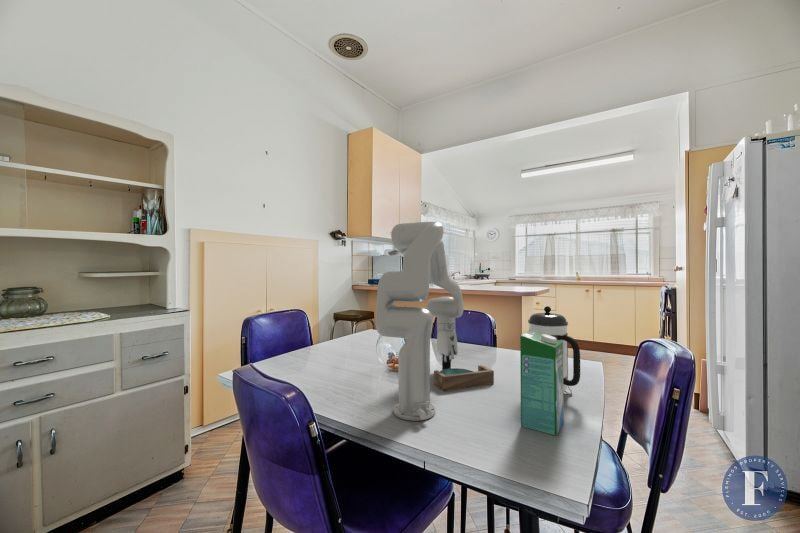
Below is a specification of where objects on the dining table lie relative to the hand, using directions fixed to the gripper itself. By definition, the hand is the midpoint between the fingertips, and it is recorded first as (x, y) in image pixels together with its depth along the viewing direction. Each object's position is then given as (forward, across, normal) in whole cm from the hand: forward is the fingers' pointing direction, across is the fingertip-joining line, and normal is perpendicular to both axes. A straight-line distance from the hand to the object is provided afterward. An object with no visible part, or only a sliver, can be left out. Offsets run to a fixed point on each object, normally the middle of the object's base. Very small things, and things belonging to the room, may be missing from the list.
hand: (446, 370), depth 137 cm
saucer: (+1, -9, 0) cm, 9 cm away
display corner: (+1, -14, 0) cm, 14 cm away
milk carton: (+1, -50, -3) cm, 50 cm away
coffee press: (+1, -33, -23) cm, 40 cm away
